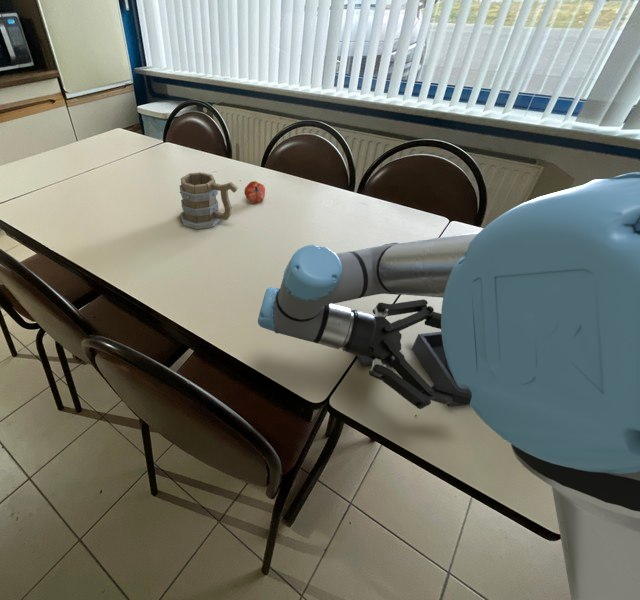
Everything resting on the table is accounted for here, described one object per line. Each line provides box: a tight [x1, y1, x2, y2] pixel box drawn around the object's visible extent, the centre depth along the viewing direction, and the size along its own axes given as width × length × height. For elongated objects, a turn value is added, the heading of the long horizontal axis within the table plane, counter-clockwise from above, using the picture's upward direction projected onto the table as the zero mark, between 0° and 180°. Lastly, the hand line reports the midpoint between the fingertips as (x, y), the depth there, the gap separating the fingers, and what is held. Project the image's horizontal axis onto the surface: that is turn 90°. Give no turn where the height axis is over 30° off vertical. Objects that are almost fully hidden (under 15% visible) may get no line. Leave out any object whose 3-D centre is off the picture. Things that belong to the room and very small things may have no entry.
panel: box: [356, 355, 395, 367], centre depth 79 cm, size 10×8×3 cm
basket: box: [411, 331, 472, 407], centre depth 73 cm, size 15×15×5 cm
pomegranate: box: [243, 180, 266, 204], centre depth 130 cm, size 7×7×10 cm
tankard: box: [179, 171, 239, 230], centre depth 116 cm, size 20×13×15 cm, turn 61°
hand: (467, 362), depth 63 cm, fingers open, 13 cm apart
